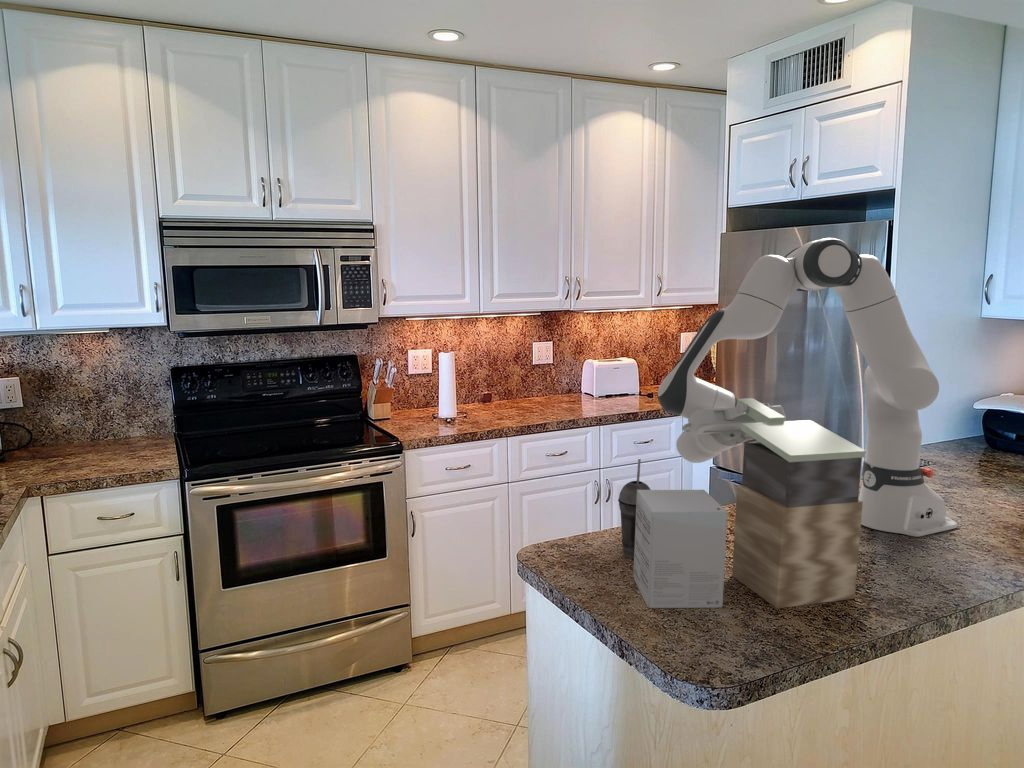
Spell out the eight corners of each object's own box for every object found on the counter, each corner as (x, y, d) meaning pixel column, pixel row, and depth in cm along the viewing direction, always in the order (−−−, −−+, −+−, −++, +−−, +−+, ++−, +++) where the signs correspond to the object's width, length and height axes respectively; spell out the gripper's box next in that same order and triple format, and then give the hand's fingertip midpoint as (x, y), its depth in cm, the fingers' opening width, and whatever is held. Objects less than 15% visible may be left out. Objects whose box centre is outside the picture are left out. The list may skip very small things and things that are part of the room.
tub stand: (803, 567, 140) (813, 439, 136) (854, 598, 126) (866, 457, 123) (731, 575, 136) (739, 443, 132) (776, 608, 122) (786, 462, 119)
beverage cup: (611, 557, 144) (614, 462, 141) (623, 545, 150) (626, 454, 148) (646, 564, 141) (649, 466, 138) (656, 552, 147) (660, 458, 144)
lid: (775, 406, 146) (777, 397, 146) (864, 457, 122) (866, 446, 122) (710, 409, 142) (712, 399, 142) (789, 462, 119) (791, 451, 118)
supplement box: (701, 577, 135) (705, 488, 133) (723, 608, 122) (729, 511, 120) (632, 577, 135) (635, 488, 132) (647, 609, 122) (651, 511, 119)
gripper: (675, 416, 151) (706, 393, 139) (759, 413, 156) (796, 390, 144) (681, 445, 149) (713, 424, 136) (766, 440, 154) (804, 419, 141)
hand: (756, 406), depth 140 cm, fingers closed on lid, 3 cm apart
